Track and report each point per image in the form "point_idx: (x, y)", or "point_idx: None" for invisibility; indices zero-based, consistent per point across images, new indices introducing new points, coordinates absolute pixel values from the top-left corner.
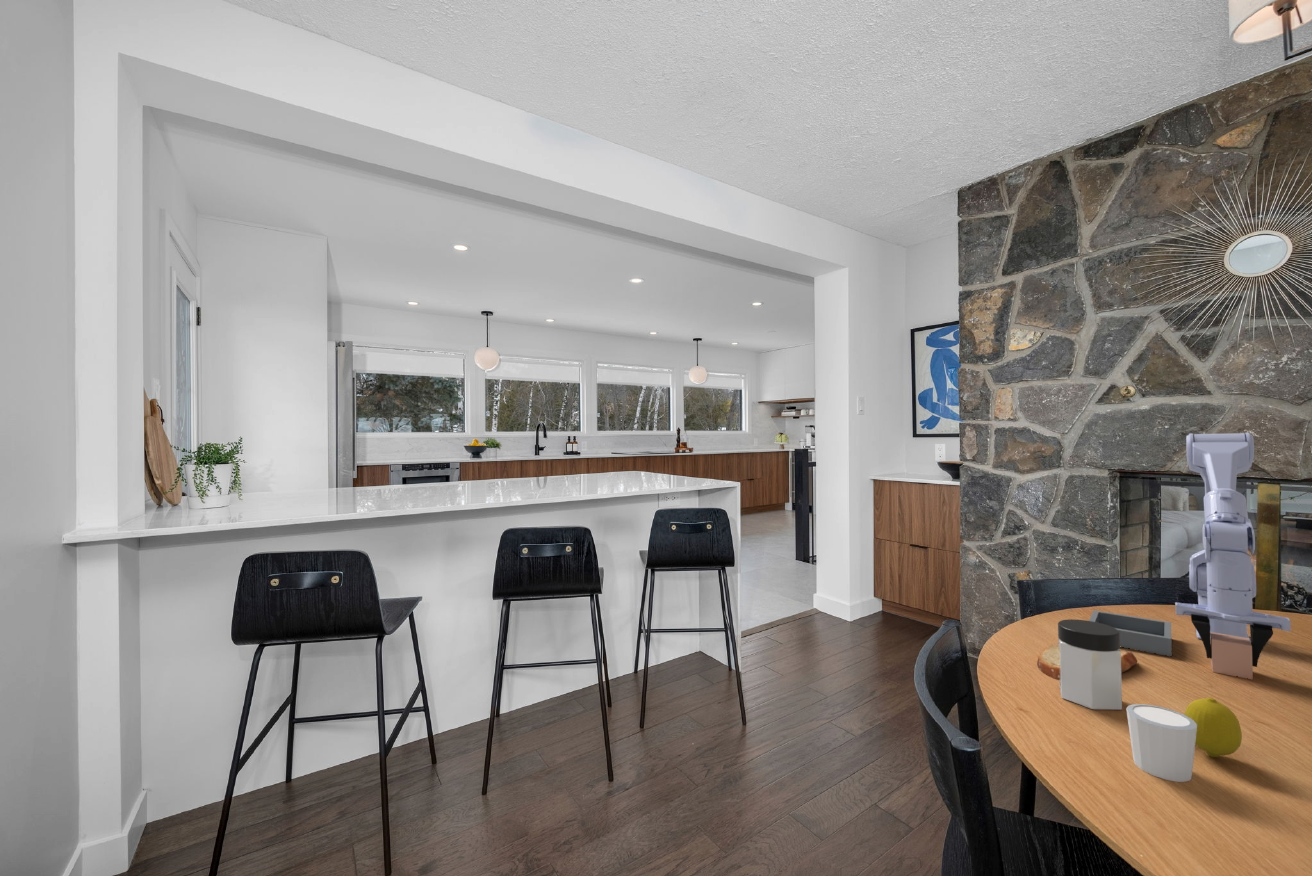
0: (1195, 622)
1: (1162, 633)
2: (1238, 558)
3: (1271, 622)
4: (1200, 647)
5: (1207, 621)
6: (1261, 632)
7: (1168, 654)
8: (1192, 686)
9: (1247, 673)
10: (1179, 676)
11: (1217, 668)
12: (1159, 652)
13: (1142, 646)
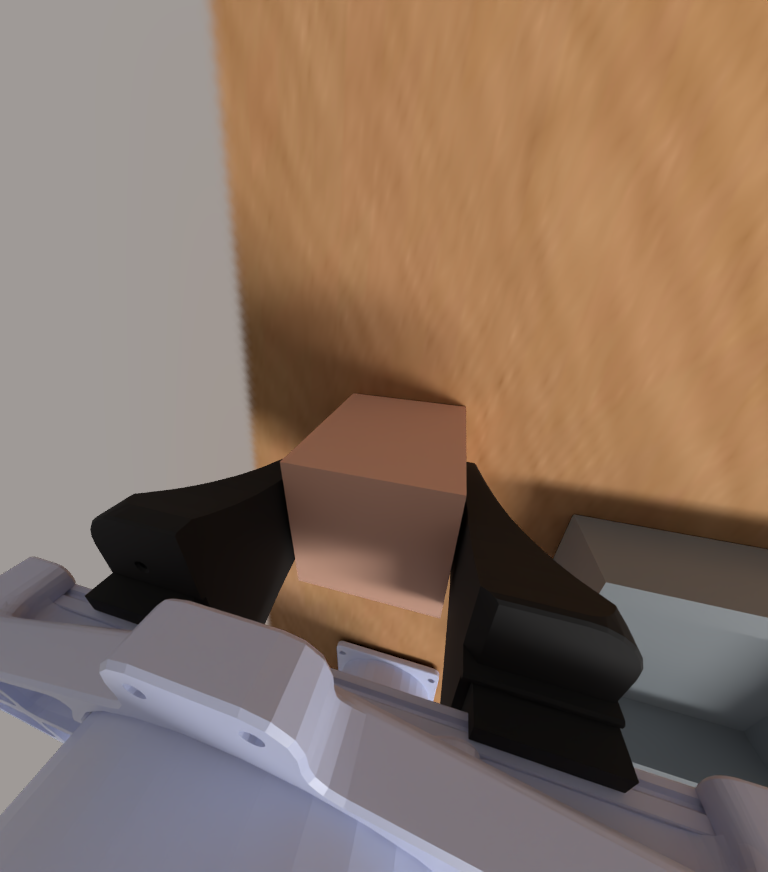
0: (619, 631)
1: None
2: None
3: (22, 620)
4: (446, 618)
5: (480, 663)
6: (147, 511)
7: (587, 520)
8: (668, 2)
9: (360, 401)
10: (665, 213)
11: (449, 412)
12: (621, 527)
13: (699, 552)
